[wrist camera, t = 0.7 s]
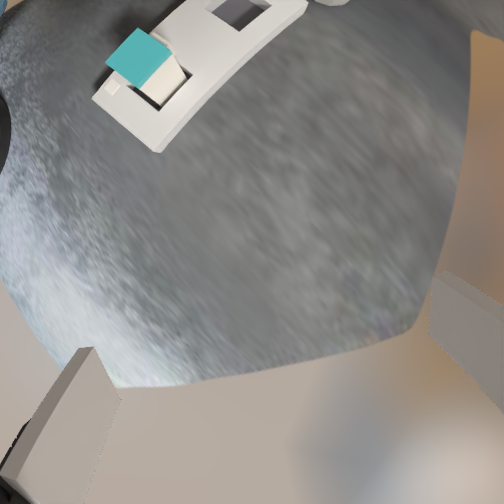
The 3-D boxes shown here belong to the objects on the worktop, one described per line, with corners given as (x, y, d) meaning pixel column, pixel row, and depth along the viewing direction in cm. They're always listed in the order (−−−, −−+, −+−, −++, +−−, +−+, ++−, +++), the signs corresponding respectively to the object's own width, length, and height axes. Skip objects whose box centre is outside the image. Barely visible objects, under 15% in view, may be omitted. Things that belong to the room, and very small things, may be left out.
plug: (139, 88, 29) (104, 62, 19) (167, 58, 28) (142, 22, 19) (163, 108, 30) (135, 86, 20) (192, 77, 29) (175, 44, 19)
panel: (102, 103, 30) (91, 98, 27) (241, -28, 26) (242, -41, 23) (160, 152, 32) (153, 151, 29) (303, 13, 28) (308, 2, 25)
